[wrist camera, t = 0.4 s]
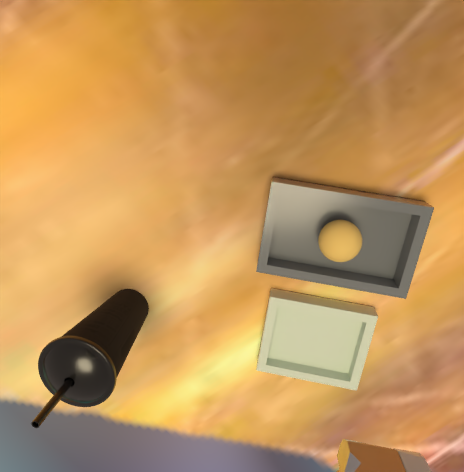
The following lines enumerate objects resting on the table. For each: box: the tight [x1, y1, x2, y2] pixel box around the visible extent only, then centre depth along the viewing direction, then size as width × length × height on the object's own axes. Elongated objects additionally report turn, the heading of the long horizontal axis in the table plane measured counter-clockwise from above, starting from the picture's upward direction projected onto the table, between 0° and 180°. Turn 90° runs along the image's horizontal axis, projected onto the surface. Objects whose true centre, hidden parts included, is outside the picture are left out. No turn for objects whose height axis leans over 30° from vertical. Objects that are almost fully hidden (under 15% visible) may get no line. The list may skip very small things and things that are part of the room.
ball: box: [318, 220, 362, 262], centre depth 41 cm, size 4×4×4 cm
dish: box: [256, 177, 434, 299], centre depth 42 cm, size 10×16×3 cm, turn 82°
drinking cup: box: [32, 289, 149, 428], centre depth 41 cm, size 8×8×20 cm
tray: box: [257, 288, 378, 390], centre depth 47 cm, size 10×12×2 cm
